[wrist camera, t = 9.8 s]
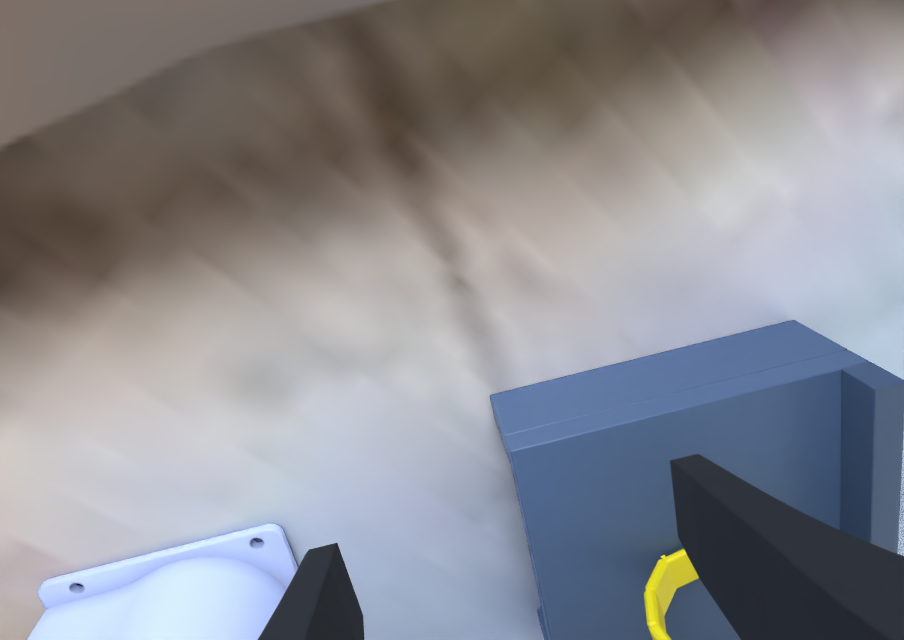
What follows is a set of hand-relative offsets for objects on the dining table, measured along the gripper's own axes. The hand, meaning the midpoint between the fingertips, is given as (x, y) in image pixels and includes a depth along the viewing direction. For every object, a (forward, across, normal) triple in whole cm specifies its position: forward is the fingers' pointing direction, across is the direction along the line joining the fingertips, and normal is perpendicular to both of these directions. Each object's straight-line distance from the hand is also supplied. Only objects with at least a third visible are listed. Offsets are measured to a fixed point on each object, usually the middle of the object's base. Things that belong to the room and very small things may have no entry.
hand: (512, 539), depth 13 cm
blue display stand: (+10, -7, +8) cm, 15 cm away
